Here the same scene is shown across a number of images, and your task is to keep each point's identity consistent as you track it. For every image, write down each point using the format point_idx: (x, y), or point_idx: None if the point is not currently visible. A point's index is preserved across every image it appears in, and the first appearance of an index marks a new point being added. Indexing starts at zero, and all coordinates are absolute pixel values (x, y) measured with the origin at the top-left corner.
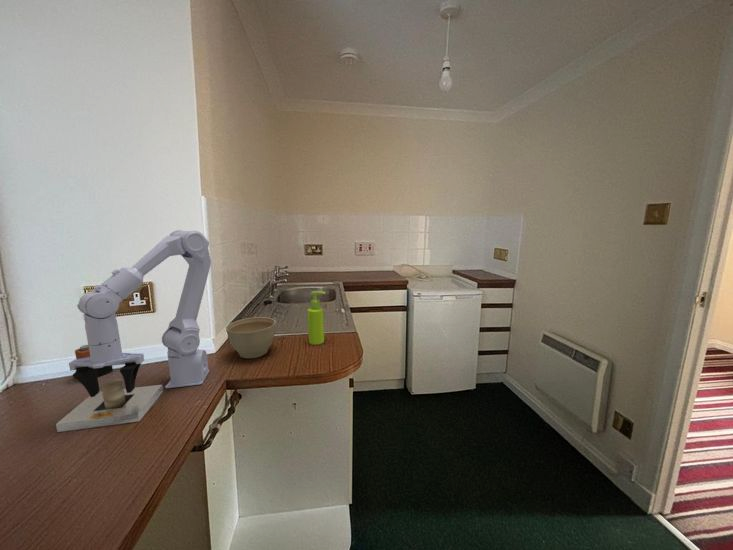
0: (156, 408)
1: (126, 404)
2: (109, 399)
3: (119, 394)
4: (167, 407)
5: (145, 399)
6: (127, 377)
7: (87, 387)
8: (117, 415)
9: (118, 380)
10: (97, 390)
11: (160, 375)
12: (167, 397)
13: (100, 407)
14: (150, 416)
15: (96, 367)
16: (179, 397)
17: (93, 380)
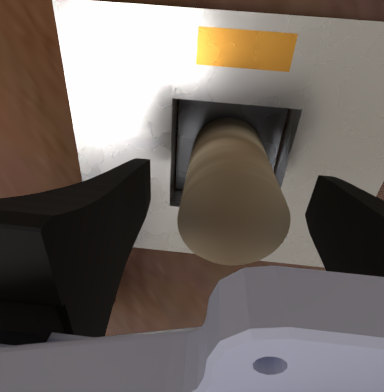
0: (59, 103)
1: (164, 124)
2: (232, 140)
3: (192, 164)
4: (14, 96)
5: (95, 143)
6: (73, 193)
7: (373, 201)
8: (157, 14)
9: (205, 245)
10: (313, 216)
11: (165, 317)
12: (62, 177)
13: (284, 157)
14: (46, 37)
15: (357, 288)
16: (13, 162)
17: (351, 260)
